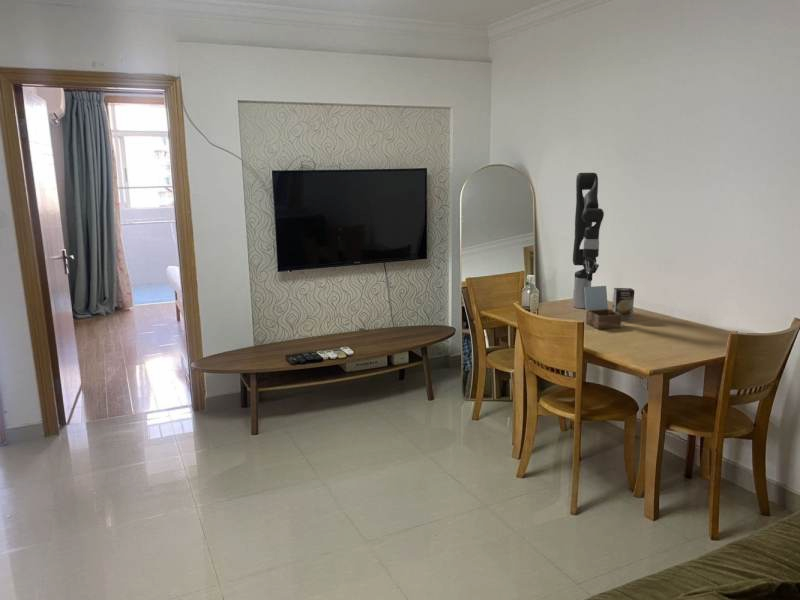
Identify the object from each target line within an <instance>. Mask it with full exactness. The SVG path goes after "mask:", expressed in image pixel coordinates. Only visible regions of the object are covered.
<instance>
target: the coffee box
mask: <svg viewBox="0 0 800 600" xmlns="http://www.w3.org/2000/svg"><path fill="white" fill-rule="evenodd" d="M612 294H613V297H612V308H611V311H613V312H616V313H618V314H621V321H633V315H634V303H635V302H634V301H635V289H633V288H630V287H629V288H628V287H614V288H613V293H612Z"/></svg>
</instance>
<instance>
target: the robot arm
mask: <svg viewBox="0 0 800 600" xmlns="http://www.w3.org/2000/svg"><path fill="white" fill-rule="evenodd" d="M575 184H576V185H575V186H576V187H575V190H576V192H575V193H576V194H575V195H576V198H575V199H576V200H575V201H576V202H575V216H574V240H573V241H574V243H573V251H572V264H573V265H574V266H582V267H583V268H582V269H580V270H577V271H575V272H574V284H573V294H572V295H573V296H572V297H573V298H572V299H573V301H572V306H573V307H574V308H576V309H586V306H585V293H584V287H592V281H593V274H596V272H597V270H598V268H599V267H600V264H599V263H598V264H597V257H599V252H600V250H599V249H600V228H601V225H602V223H603V219H604V216H605V213H604V210H603V209H602V208H599V206H600V204H599V199H598V194H599V193H598V192H599V176H598V174H597V173H596V172H578V173H577V175H576V182H575ZM587 190H588V191H587ZM583 191H587V193H585V195H584V194H583ZM593 223H594V225H593ZM582 242H583V248H580V247H581V245H582Z"/></svg>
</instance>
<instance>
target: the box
mask: <svg viewBox="0 0 800 600" xmlns="http://www.w3.org/2000/svg"><path fill="white" fill-rule="evenodd" d="M585 325H587V326H589V325H590V327H591V326H592V327H591V328H593V327H594V329H596V330H598V331H600V330H604V331H605V330H614V329H621V327H622V320H621V314H618V313H616V312H613V311H612V309H609V308H608V309H602V310H589V311H586V318H585Z"/></svg>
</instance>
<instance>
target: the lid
mask: <svg viewBox="0 0 800 600" xmlns="http://www.w3.org/2000/svg"><path fill="white" fill-rule="evenodd" d="M584 293H585V306H586V308H585V311H586V312H587V311H594V310H607V309H608V310H609V304H608V291H607V285H598V286H591V287H584Z"/></svg>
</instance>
